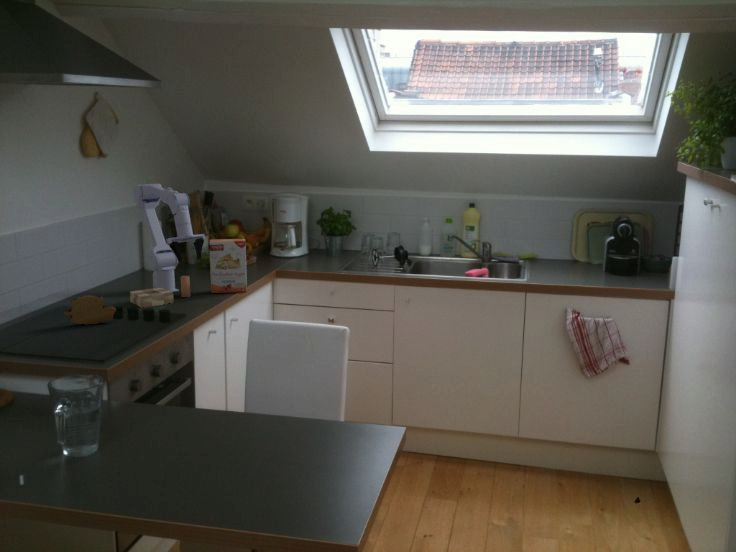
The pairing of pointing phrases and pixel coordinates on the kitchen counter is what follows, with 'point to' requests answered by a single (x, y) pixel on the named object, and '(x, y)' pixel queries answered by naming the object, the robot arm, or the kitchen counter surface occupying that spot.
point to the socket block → (151, 297)
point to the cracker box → (228, 265)
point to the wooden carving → (90, 310)
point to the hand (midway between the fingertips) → (190, 260)
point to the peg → (185, 286)
